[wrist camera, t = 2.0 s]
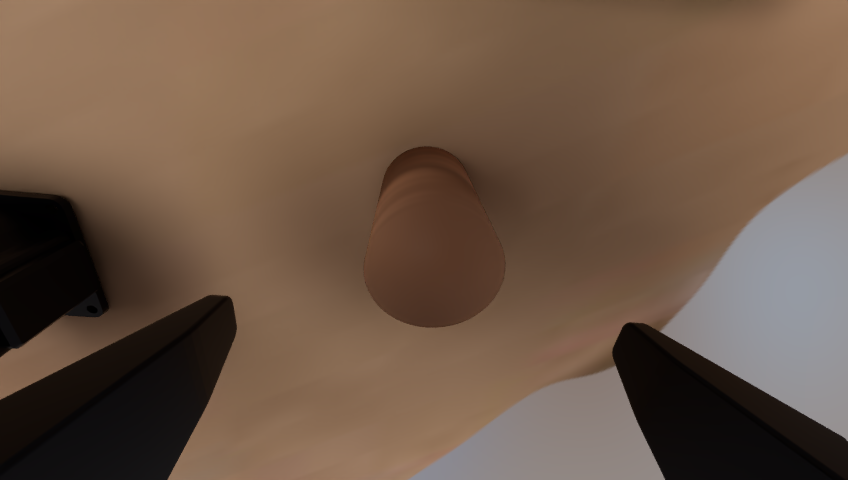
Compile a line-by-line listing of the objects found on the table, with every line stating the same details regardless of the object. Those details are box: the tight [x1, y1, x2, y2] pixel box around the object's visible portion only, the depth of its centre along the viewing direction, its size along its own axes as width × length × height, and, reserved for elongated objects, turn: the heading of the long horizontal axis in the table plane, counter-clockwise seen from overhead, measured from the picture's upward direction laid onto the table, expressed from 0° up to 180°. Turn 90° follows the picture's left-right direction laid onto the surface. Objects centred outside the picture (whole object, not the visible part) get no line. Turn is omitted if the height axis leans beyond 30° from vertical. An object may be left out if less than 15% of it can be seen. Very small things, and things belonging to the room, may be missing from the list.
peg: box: [364, 147, 505, 327], centre depth 13 cm, size 4×4×7 cm
